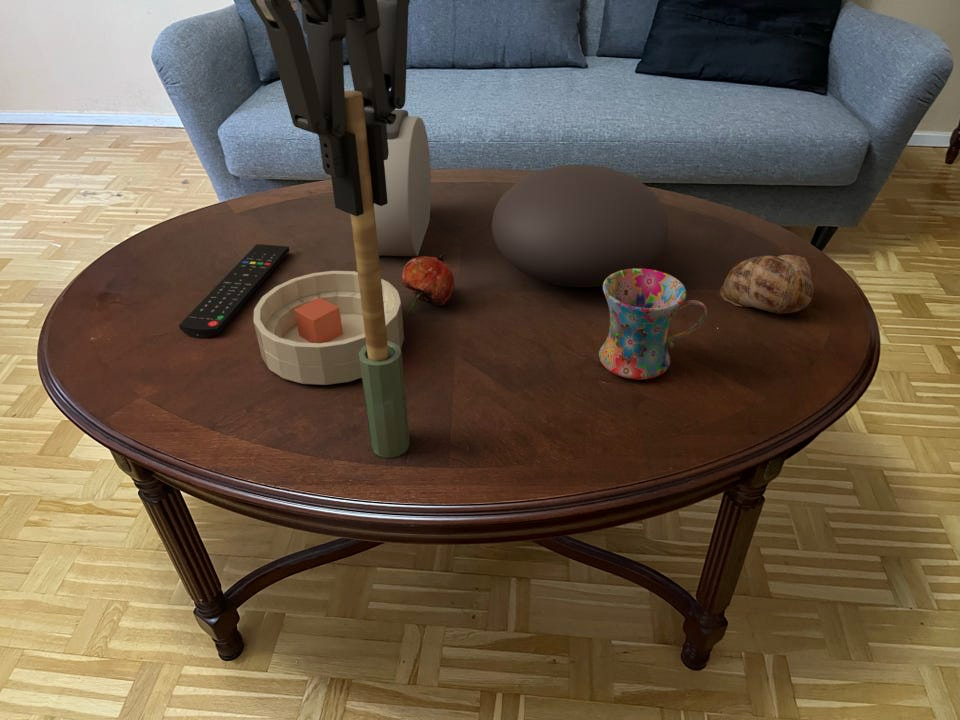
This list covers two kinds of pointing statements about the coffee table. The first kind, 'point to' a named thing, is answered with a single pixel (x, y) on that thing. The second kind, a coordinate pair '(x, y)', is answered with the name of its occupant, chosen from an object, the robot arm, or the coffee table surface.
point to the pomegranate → (428, 279)
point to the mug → (642, 321)
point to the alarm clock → (405, 188)
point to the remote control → (233, 291)
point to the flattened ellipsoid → (579, 225)
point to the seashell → (770, 284)
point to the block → (318, 321)
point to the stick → (367, 237)
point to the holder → (385, 402)
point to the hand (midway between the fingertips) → (361, 205)
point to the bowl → (320, 359)
